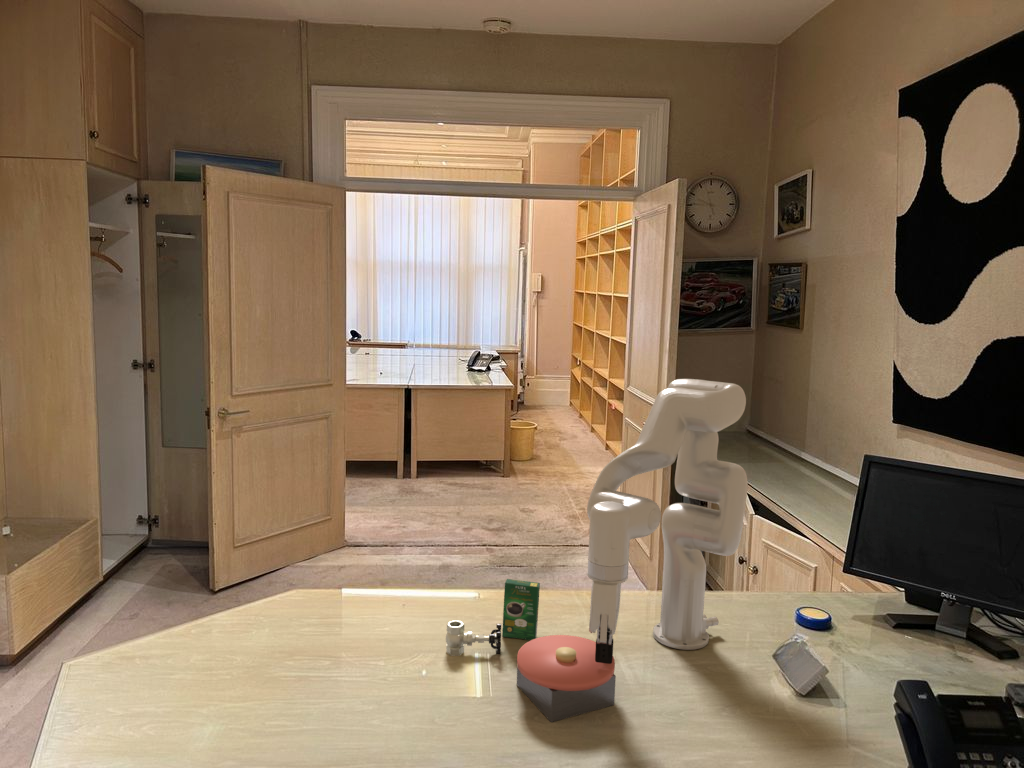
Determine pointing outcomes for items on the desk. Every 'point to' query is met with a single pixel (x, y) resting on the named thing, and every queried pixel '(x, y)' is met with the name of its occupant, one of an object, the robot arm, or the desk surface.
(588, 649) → the handwheel
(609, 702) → the block
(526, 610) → the coffee box
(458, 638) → the valve
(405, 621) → the desk surface
